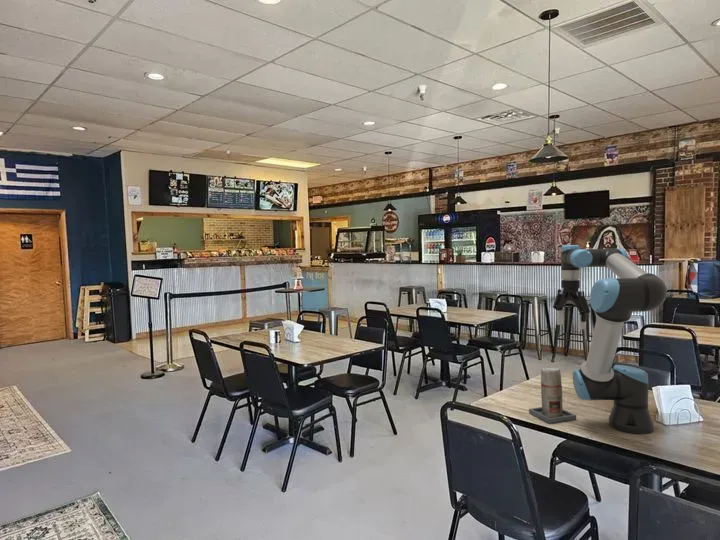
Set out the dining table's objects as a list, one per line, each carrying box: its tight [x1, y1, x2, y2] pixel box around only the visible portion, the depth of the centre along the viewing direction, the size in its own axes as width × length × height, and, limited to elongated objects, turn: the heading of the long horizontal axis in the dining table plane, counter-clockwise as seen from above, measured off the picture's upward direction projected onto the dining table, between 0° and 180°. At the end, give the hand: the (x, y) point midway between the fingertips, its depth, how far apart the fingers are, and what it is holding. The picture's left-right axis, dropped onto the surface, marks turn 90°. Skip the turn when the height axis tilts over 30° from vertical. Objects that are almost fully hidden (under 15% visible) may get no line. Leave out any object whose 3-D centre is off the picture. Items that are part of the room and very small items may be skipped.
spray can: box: [540, 367, 564, 418], centre depth 193 cm, size 8×8×20 cm
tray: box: [528, 406, 577, 425], centre depth 193 cm, size 13×13×2 cm
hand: (570, 326), depth 208 cm, fingers open, 13 cm apart
